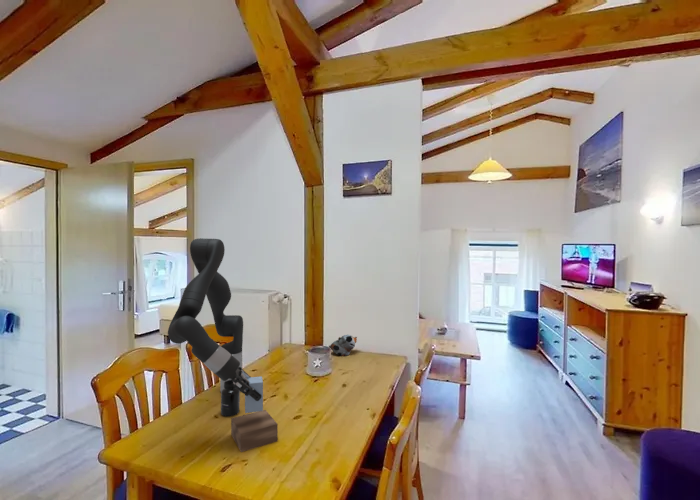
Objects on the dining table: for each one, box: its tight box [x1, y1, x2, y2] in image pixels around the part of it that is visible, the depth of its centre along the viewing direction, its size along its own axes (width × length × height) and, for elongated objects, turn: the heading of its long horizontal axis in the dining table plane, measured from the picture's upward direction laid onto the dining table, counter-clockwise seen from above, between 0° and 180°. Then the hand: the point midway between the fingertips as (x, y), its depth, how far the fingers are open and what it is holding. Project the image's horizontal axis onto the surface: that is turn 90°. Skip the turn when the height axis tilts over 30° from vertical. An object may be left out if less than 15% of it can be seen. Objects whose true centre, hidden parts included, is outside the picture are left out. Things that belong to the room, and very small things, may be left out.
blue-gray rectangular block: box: [244, 376, 264, 414], centre depth 122 cm, size 6×6×10 cm
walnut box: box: [230, 409, 279, 453], centre depth 122 cm, size 12×12×6 cm
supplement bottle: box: [220, 380, 241, 417], centre depth 140 cm, size 7×7×12 cm
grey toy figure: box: [328, 334, 358, 357], centre depth 215 cm, size 15×12×14 cm
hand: (259, 394), depth 122 cm, fingers closed on blue-gray rectangular block, 5 cm apart
